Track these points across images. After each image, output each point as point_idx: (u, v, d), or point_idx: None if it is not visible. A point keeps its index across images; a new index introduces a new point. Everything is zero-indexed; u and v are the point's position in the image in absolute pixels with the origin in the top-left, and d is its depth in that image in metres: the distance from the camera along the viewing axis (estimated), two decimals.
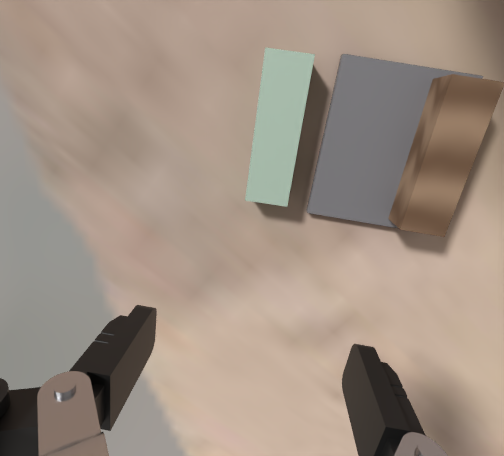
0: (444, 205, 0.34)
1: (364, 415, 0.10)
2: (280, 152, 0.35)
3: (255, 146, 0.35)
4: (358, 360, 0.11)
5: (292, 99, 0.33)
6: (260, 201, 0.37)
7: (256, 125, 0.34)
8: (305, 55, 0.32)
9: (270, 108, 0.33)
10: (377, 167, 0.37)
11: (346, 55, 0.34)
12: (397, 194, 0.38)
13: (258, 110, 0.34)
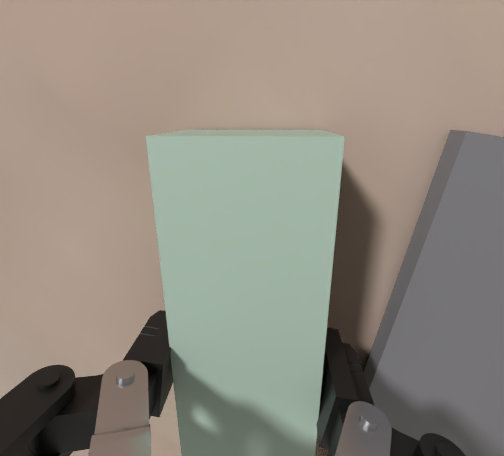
0: None
1: (322, 390, 0.11)
2: (265, 428, 0.11)
3: (187, 417, 0.11)
4: None
5: (280, 291, 0.09)
6: None
7: (176, 368, 0.11)
8: (306, 145, 0.08)
9: (211, 322, 0.10)
10: None
11: (478, 137, 0.10)
12: None
13: (172, 330, 0.10)
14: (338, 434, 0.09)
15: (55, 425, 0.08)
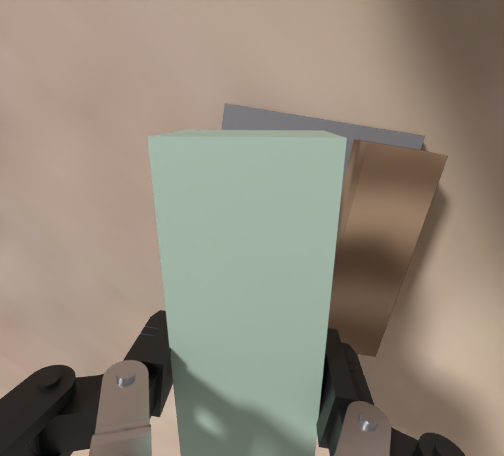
0: (371, 317, 0.24)
1: (322, 390, 0.11)
2: (265, 429, 0.11)
3: (186, 418, 0.11)
4: None
5: (281, 292, 0.09)
6: None
7: (176, 369, 0.11)
8: (308, 146, 0.08)
9: (211, 322, 0.10)
10: None
11: (229, 106, 0.23)
12: None
13: (172, 330, 0.10)
14: (338, 434, 0.09)
15: (55, 425, 0.08)
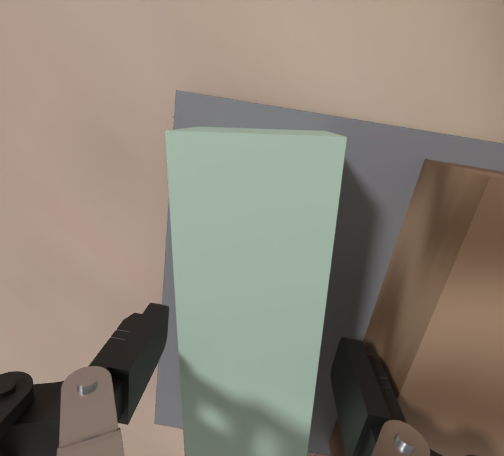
0: None
1: (349, 405, 0.10)
2: (264, 408, 0.12)
3: (190, 397, 0.12)
4: (345, 352, 0.12)
5: (283, 278, 0.10)
6: None
7: (182, 349, 0.11)
8: (312, 143, 0.09)
9: (217, 305, 0.11)
10: None
11: (185, 94, 0.12)
12: None
13: (180, 313, 0.11)
14: (371, 455, 0.09)
15: (15, 433, 0.08)
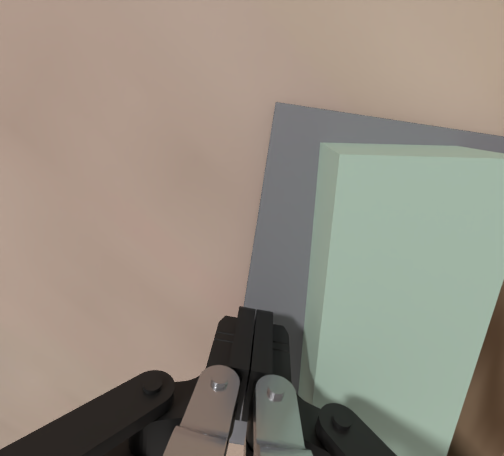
0: None
1: (249, 368, 0.11)
2: (398, 438, 0.11)
3: None
4: (255, 322, 0.13)
5: (444, 306, 0.09)
6: None
7: (319, 379, 0.11)
8: (502, 167, 0.08)
9: (365, 335, 0.10)
10: None
11: (286, 107, 0.12)
12: None
13: (323, 342, 0.10)
14: (251, 406, 0.10)
15: (148, 432, 0.08)
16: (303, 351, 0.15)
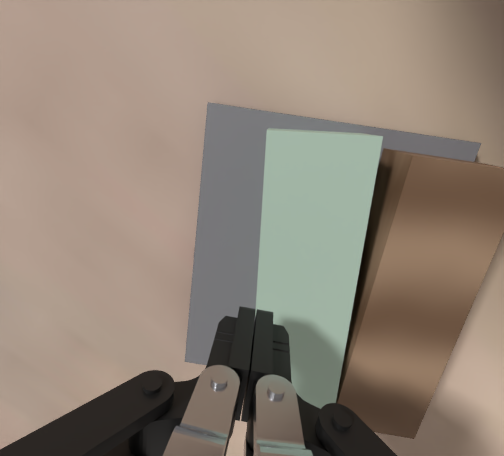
0: (410, 389, 0.18)
1: (249, 368, 0.11)
2: (314, 328, 0.17)
3: None
4: (255, 322, 0.13)
5: (335, 230, 0.15)
6: None
7: (260, 282, 0.16)
8: (361, 140, 0.14)
9: (288, 250, 0.15)
10: None
11: (214, 105, 0.17)
12: None
13: (262, 255, 0.16)
14: (251, 406, 0.10)
15: (148, 432, 0.08)
16: None
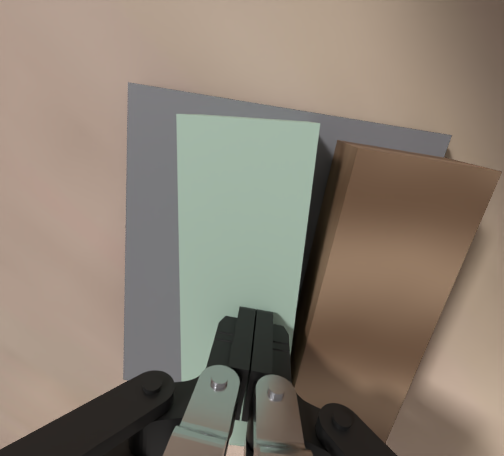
0: (365, 423, 0.15)
1: (249, 368, 0.11)
2: None
3: (188, 341, 0.14)
4: (255, 322, 0.13)
5: (268, 238, 0.12)
6: None
7: (183, 299, 0.13)
8: (293, 127, 0.11)
9: (213, 261, 0.13)
10: None
11: (136, 86, 0.14)
12: None
13: (182, 267, 0.13)
14: (251, 406, 0.10)
15: (148, 432, 0.08)
16: None
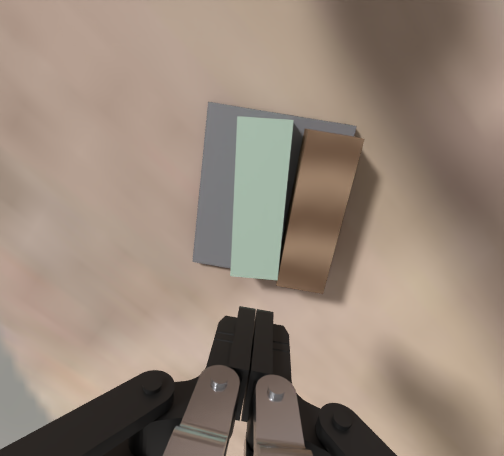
0: (318, 262, 0.32)
1: (248, 368, 0.11)
2: (264, 225, 0.31)
3: (236, 220, 0.31)
4: (255, 322, 0.13)
5: (273, 168, 0.29)
6: (247, 276, 0.33)
7: (235, 198, 0.30)
8: (283, 122, 0.28)
9: (249, 179, 0.30)
10: None
11: (212, 103, 0.31)
12: (281, 245, 0.36)
13: (236, 182, 0.30)
14: (251, 406, 0.10)
15: (148, 432, 0.08)
16: None
